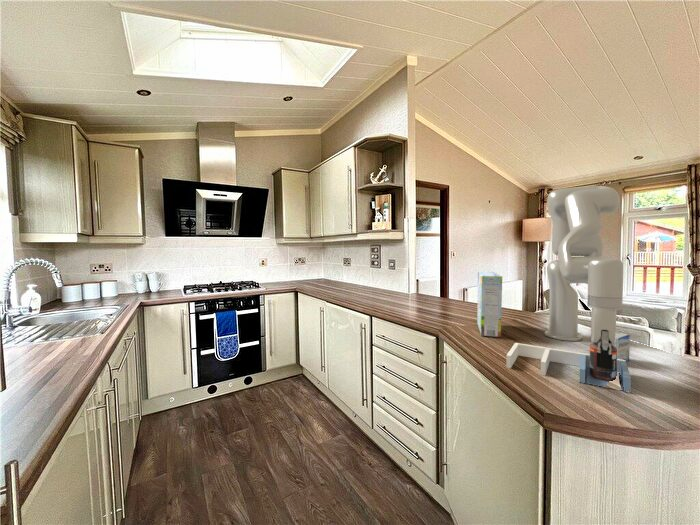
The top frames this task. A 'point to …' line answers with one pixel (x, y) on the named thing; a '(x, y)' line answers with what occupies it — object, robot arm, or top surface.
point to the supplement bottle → (598, 371)
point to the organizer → (565, 362)
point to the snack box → (489, 304)
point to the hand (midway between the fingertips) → (603, 361)
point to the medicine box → (622, 345)
